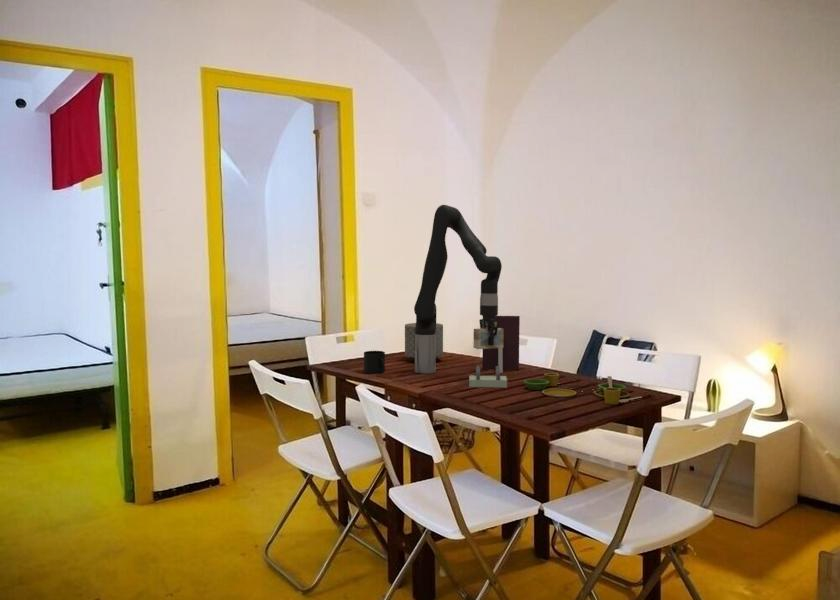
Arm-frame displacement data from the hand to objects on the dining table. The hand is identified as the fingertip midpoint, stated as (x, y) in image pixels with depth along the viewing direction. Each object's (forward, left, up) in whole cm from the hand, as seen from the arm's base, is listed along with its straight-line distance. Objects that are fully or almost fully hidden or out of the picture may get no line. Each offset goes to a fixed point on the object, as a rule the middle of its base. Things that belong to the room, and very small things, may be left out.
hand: (488, 344), depth 268 cm
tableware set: (+34, -23, -16) cm, 44 cm away
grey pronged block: (0, -11, -15) cm, 19 cm away
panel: (0, 0, -1) cm, 1 cm away
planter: (-31, +46, -15) cm, 58 cm away
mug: (-50, +13, -15) cm, 54 cm away
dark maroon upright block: (+6, +20, -15) cm, 26 cm away
